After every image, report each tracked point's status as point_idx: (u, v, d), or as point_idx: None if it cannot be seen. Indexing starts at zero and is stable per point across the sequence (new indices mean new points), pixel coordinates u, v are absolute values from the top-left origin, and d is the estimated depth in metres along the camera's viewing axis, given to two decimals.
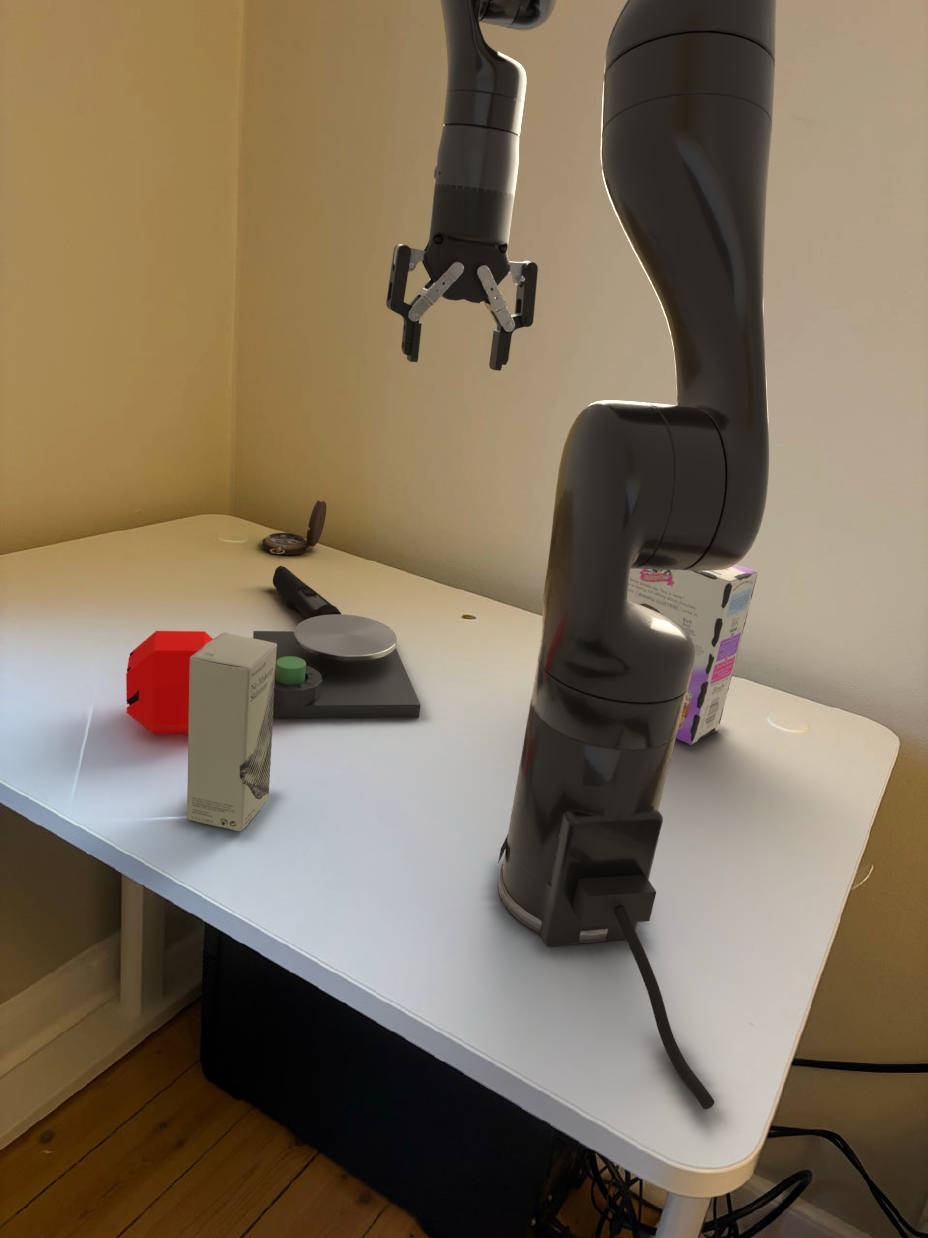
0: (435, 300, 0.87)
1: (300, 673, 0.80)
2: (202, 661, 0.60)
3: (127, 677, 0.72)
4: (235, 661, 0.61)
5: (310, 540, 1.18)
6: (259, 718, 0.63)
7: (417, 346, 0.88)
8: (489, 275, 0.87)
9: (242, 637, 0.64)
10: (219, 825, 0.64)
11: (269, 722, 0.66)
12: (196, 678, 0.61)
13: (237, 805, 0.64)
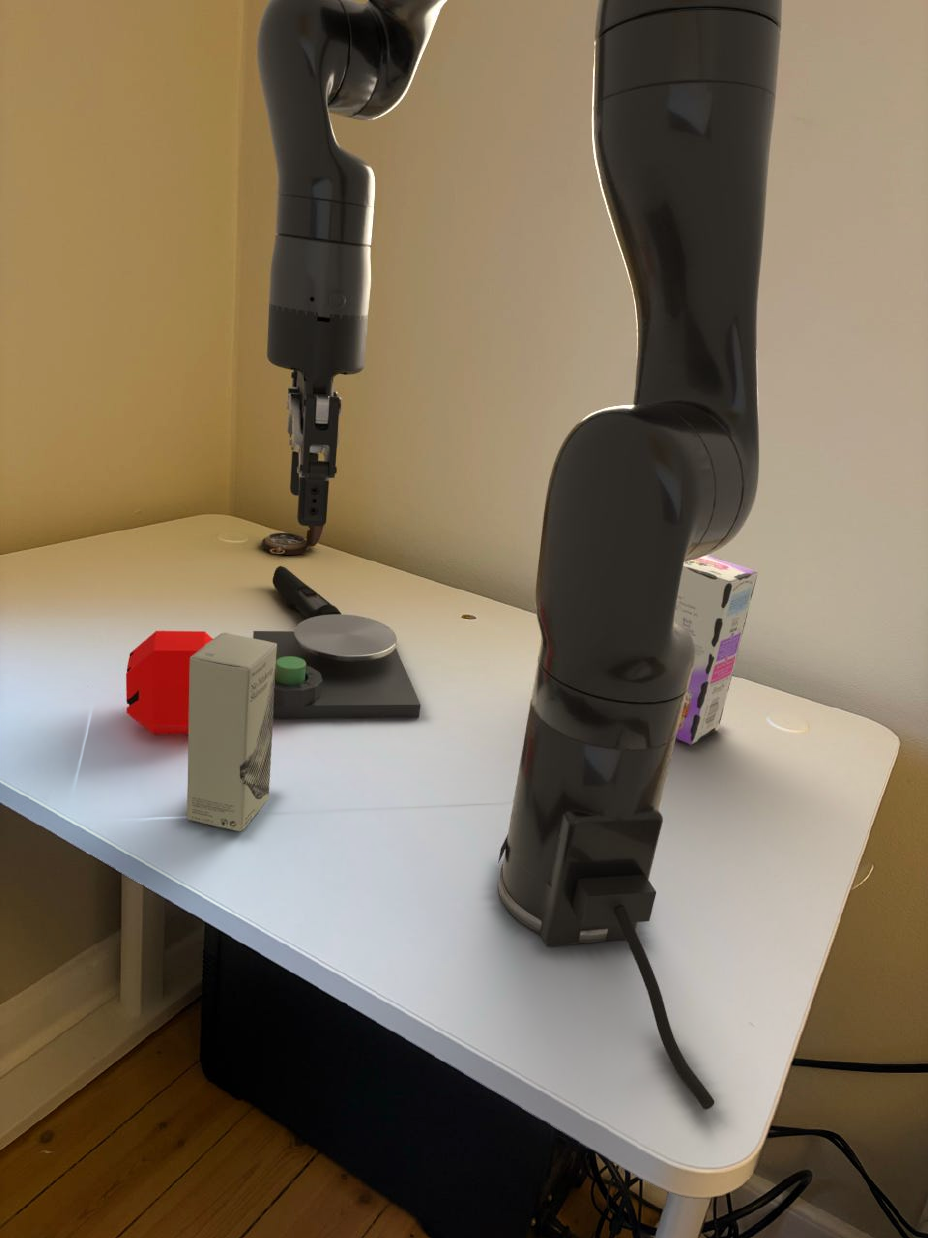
0: (287, 428, 0.76)
1: (300, 673, 0.80)
2: (202, 661, 0.60)
3: (127, 677, 0.72)
4: (235, 661, 0.60)
5: (310, 540, 1.18)
6: (259, 718, 0.63)
7: None
8: (290, 405, 0.71)
9: (242, 637, 0.64)
10: (219, 825, 0.64)
11: (269, 722, 0.66)
12: (196, 678, 0.61)
13: (237, 805, 0.64)
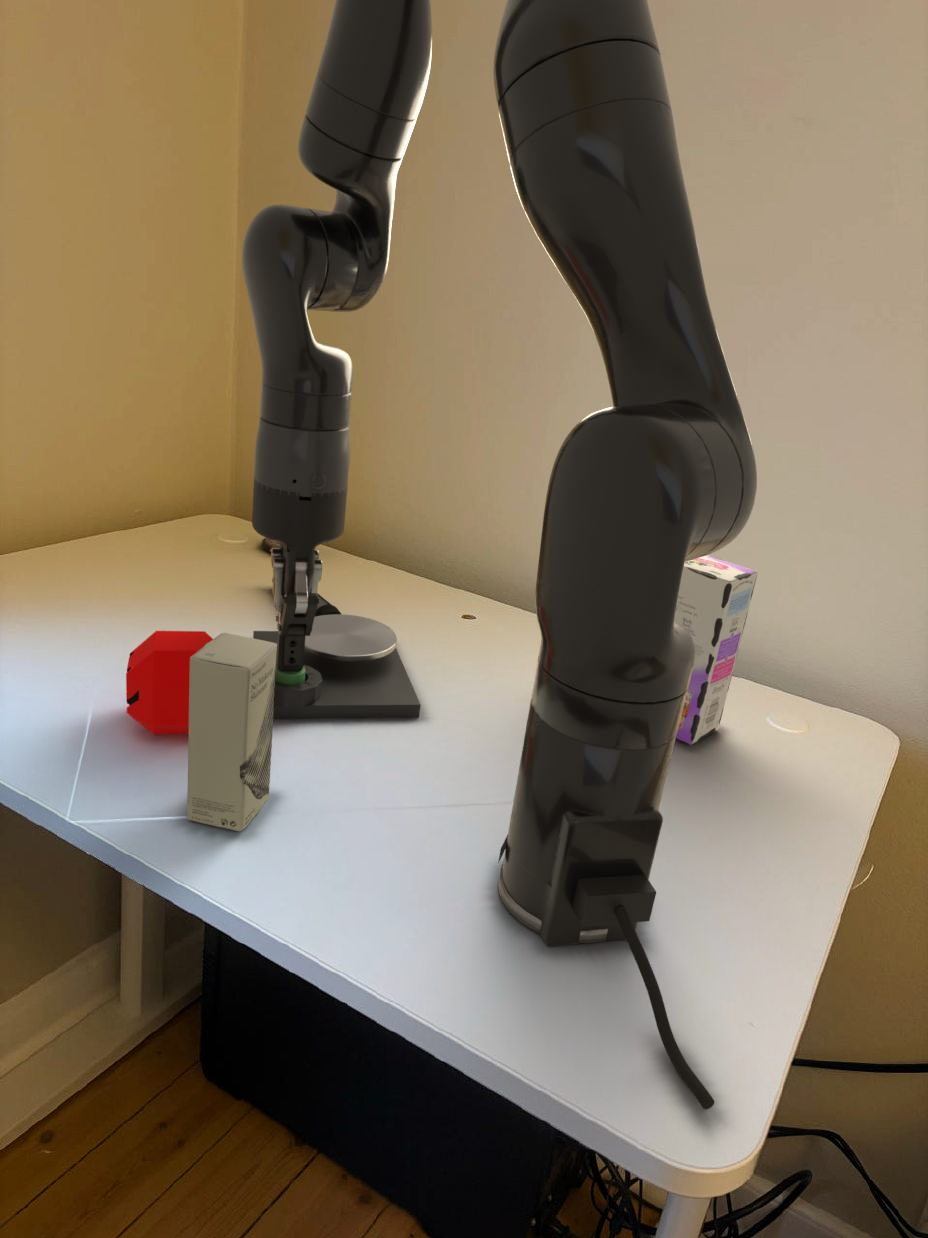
0: (273, 595, 0.78)
1: (300, 679, 0.80)
2: (202, 661, 0.60)
3: (127, 677, 0.72)
4: (235, 661, 0.60)
5: None
6: (259, 718, 0.63)
7: (277, 651, 0.80)
8: (274, 570, 0.75)
9: (242, 637, 0.64)
10: (219, 825, 0.64)
11: (269, 722, 0.66)
12: (196, 678, 0.61)
13: (237, 805, 0.64)
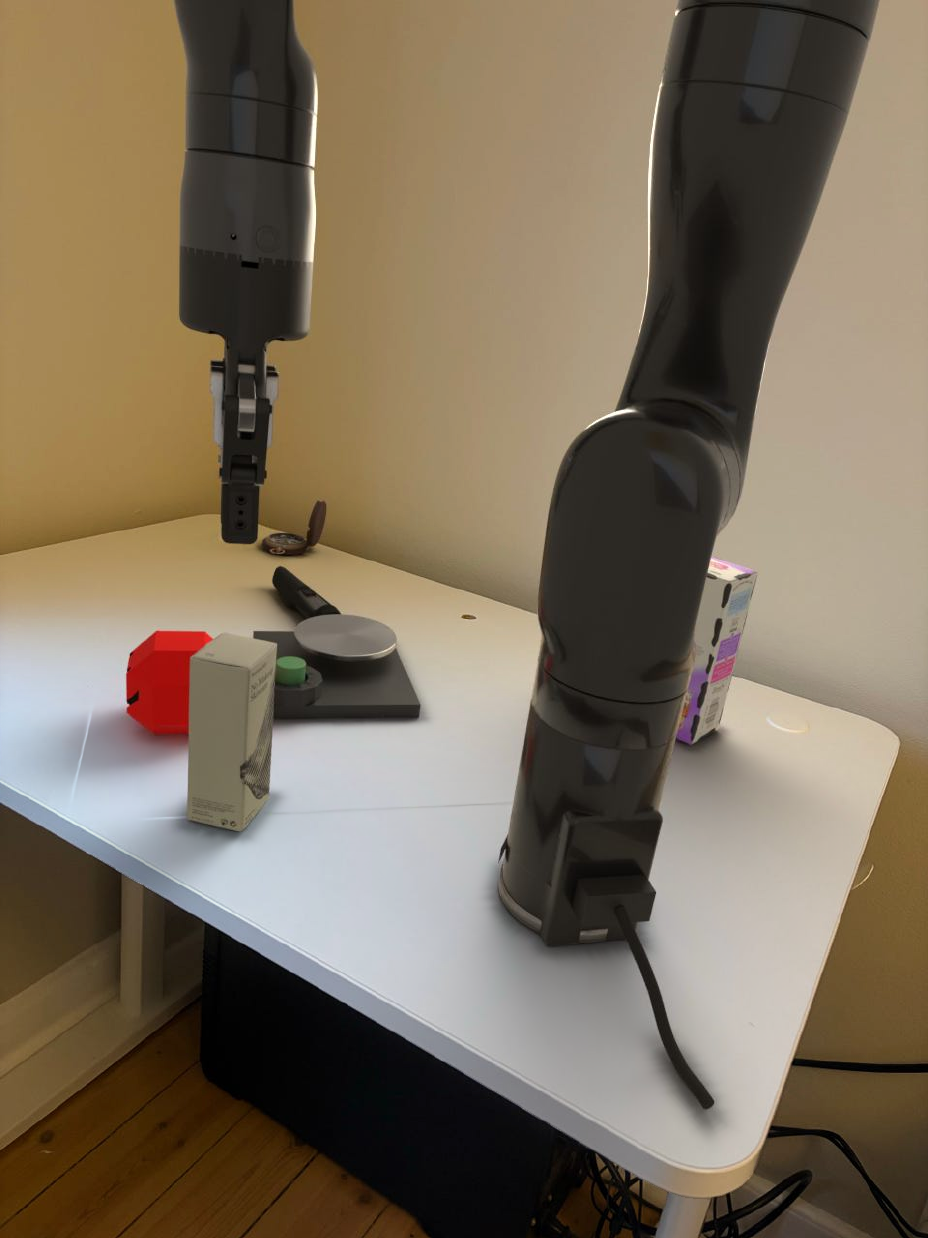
0: (213, 426, 0.57)
1: (300, 673, 0.80)
2: (202, 661, 0.60)
3: (127, 677, 0.72)
4: (236, 661, 0.60)
5: (310, 540, 1.18)
6: (259, 718, 0.63)
7: None
8: (210, 382, 0.53)
9: (242, 637, 0.64)
10: (219, 825, 0.64)
11: (269, 722, 0.66)
12: (196, 678, 0.61)
13: (237, 805, 0.64)
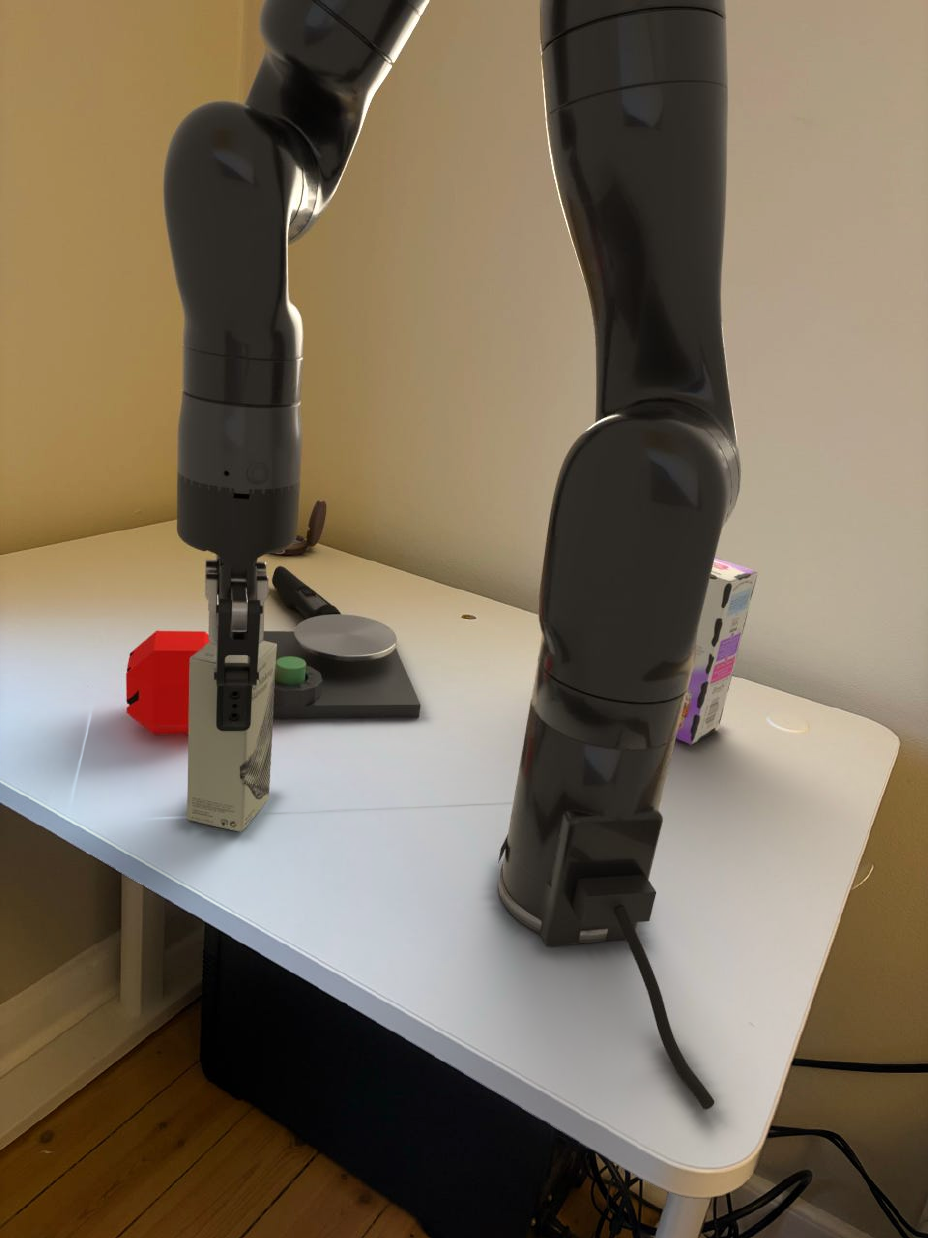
0: (208, 607, 0.63)
1: (300, 673, 0.80)
2: (202, 662, 0.60)
3: (127, 677, 0.72)
4: (235, 662, 0.60)
5: (310, 540, 1.18)
6: (259, 718, 0.63)
7: None
8: (205, 589, 0.58)
9: None
10: (219, 825, 0.64)
11: (269, 722, 0.66)
12: (196, 678, 0.61)
13: (237, 806, 0.64)
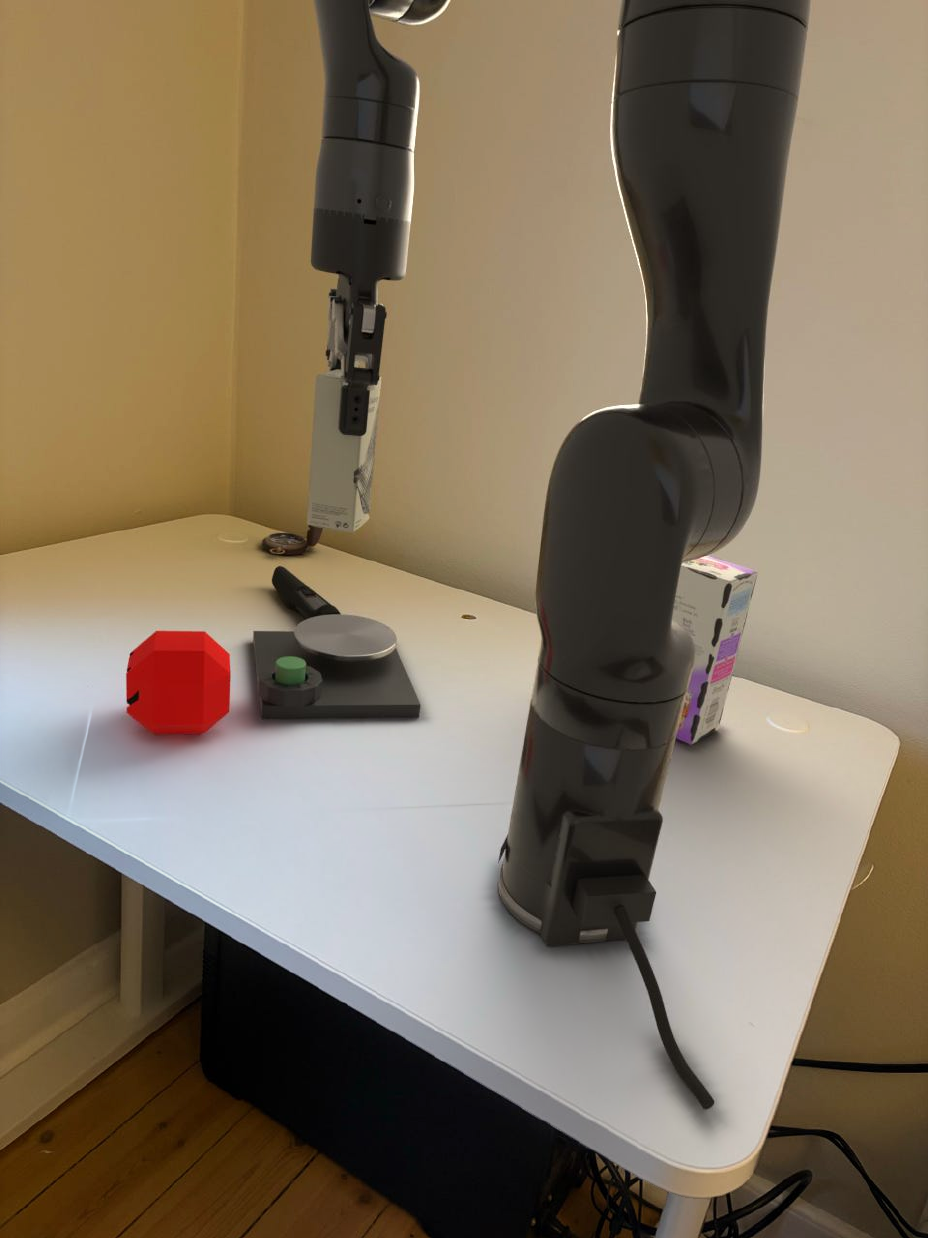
0: (327, 343, 0.77)
1: (300, 673, 0.80)
2: (326, 378, 0.74)
3: (127, 677, 0.72)
4: None
5: (310, 540, 1.18)
6: (368, 435, 0.77)
7: None
8: (333, 310, 0.72)
9: None
10: (334, 527, 0.78)
11: (373, 447, 0.79)
12: (321, 393, 0.75)
13: (350, 508, 0.77)
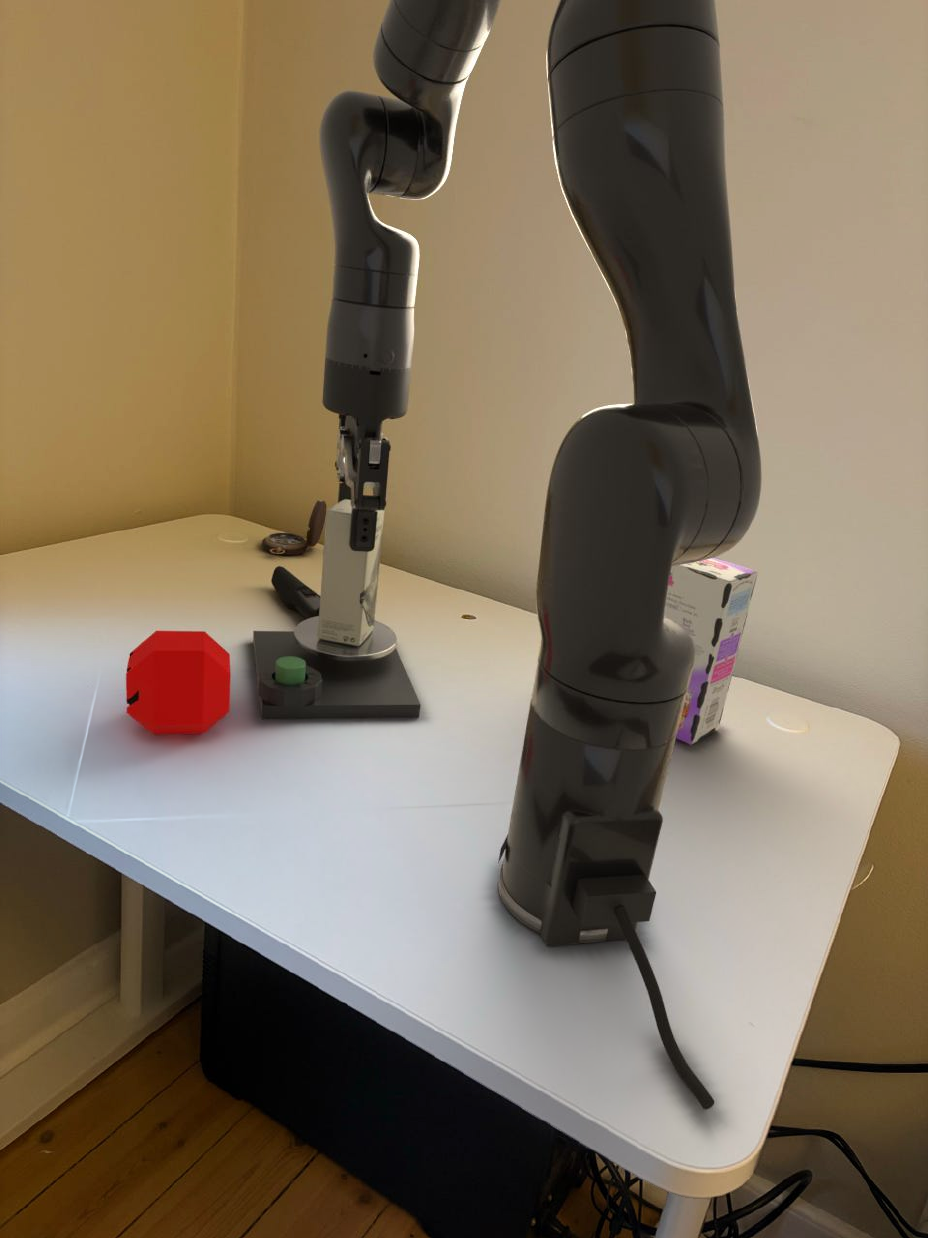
0: (336, 464, 0.86)
1: (300, 673, 0.80)
2: (335, 513, 0.83)
3: (127, 677, 0.72)
4: None
5: (310, 540, 1.18)
6: (373, 560, 0.86)
7: None
8: (343, 446, 0.80)
9: None
10: (342, 641, 0.87)
11: (377, 567, 0.88)
12: (330, 526, 0.83)
13: (357, 625, 0.86)
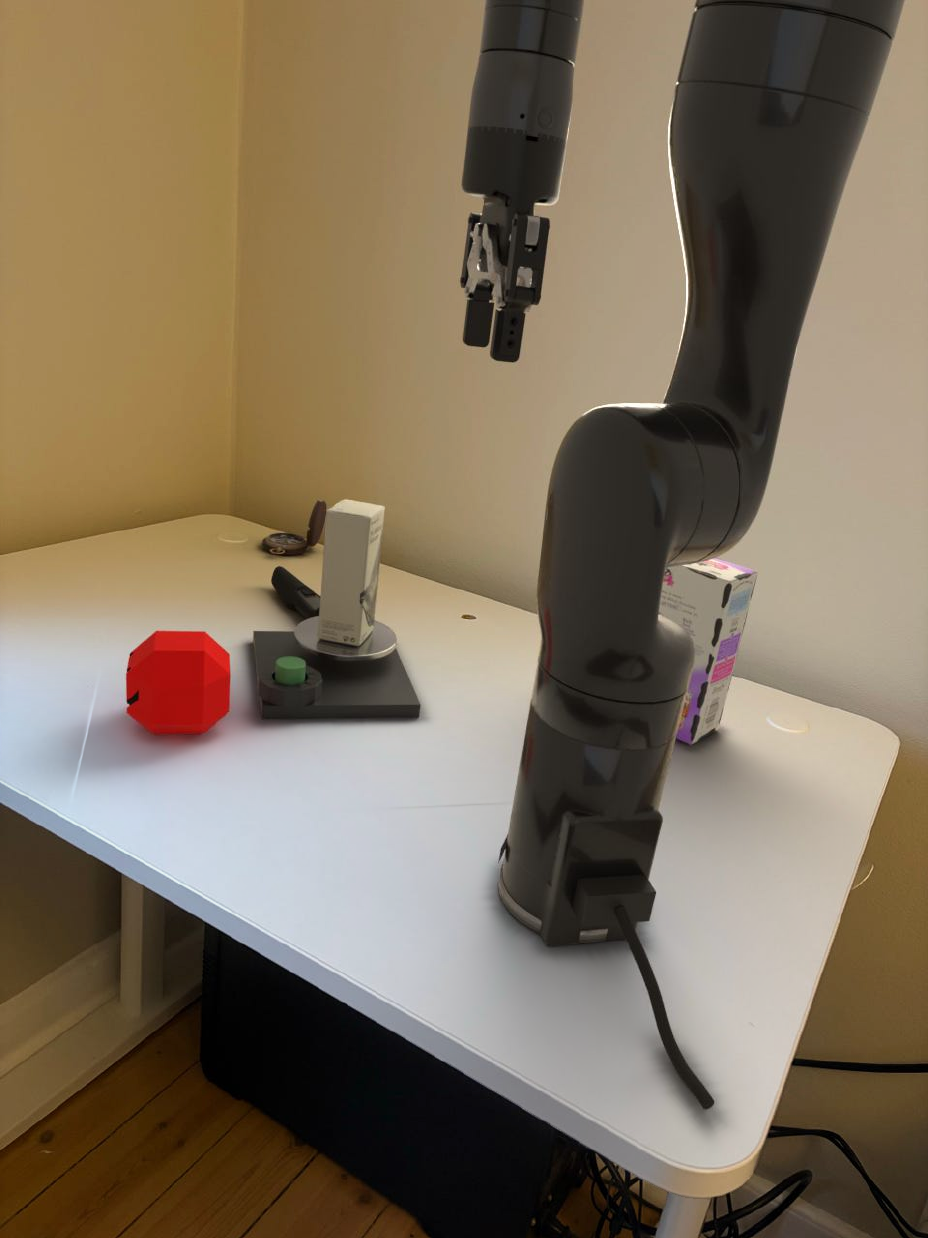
0: (468, 271, 0.75)
1: (300, 673, 0.80)
2: (335, 513, 0.83)
3: (127, 677, 0.72)
4: (359, 513, 0.83)
5: (310, 540, 1.18)
6: (373, 560, 0.86)
7: (465, 326, 0.78)
8: (486, 235, 0.69)
9: (359, 502, 0.87)
10: (342, 641, 0.87)
11: (377, 567, 0.88)
12: (330, 526, 0.83)
13: (357, 625, 0.86)
